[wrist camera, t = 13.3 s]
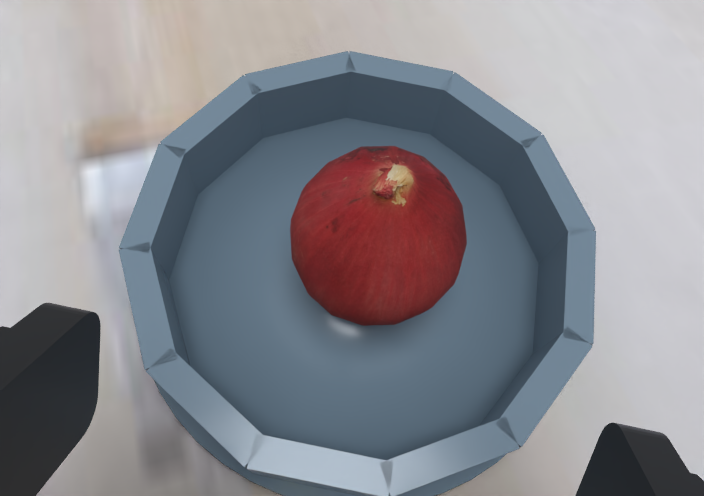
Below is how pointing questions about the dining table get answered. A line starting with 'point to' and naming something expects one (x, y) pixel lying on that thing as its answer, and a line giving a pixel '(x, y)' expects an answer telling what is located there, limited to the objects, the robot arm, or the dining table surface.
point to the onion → (378, 236)
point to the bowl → (339, 334)
